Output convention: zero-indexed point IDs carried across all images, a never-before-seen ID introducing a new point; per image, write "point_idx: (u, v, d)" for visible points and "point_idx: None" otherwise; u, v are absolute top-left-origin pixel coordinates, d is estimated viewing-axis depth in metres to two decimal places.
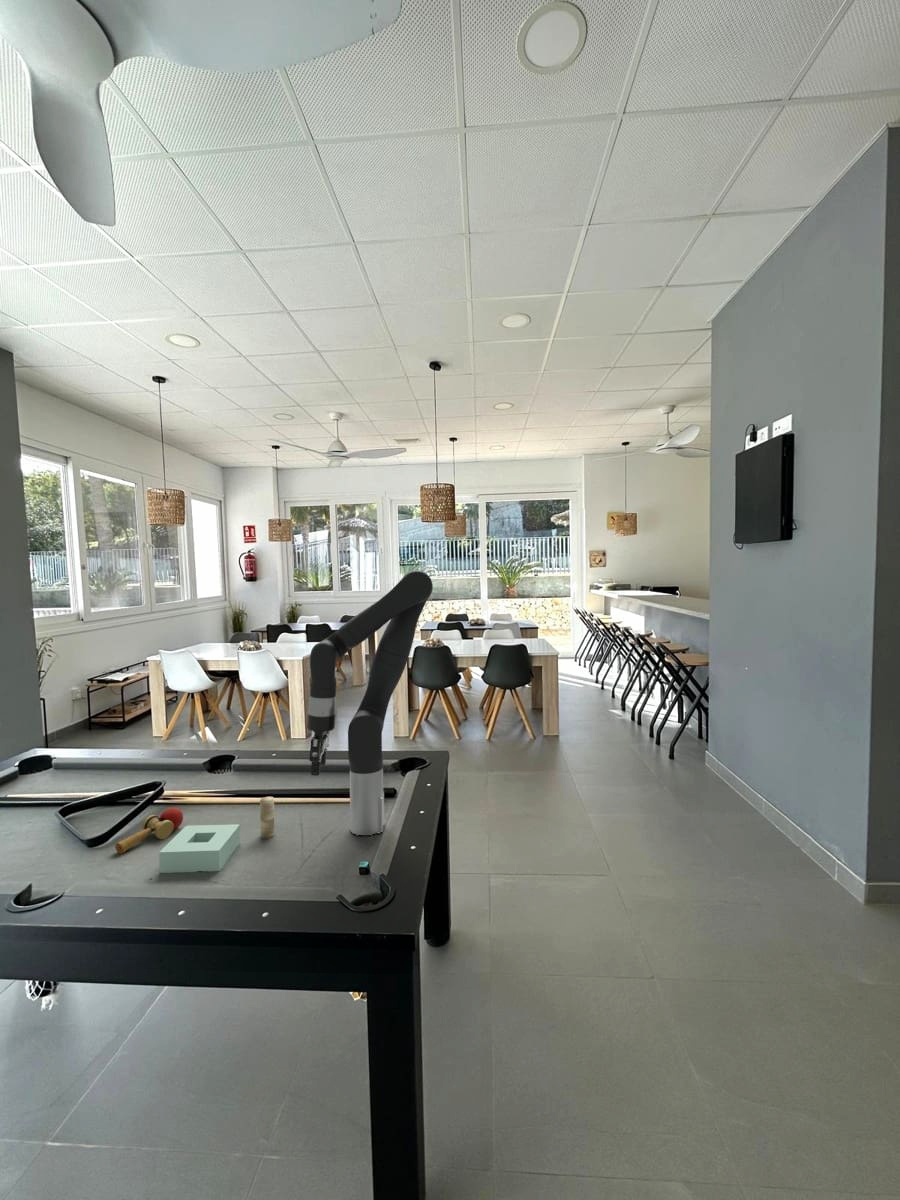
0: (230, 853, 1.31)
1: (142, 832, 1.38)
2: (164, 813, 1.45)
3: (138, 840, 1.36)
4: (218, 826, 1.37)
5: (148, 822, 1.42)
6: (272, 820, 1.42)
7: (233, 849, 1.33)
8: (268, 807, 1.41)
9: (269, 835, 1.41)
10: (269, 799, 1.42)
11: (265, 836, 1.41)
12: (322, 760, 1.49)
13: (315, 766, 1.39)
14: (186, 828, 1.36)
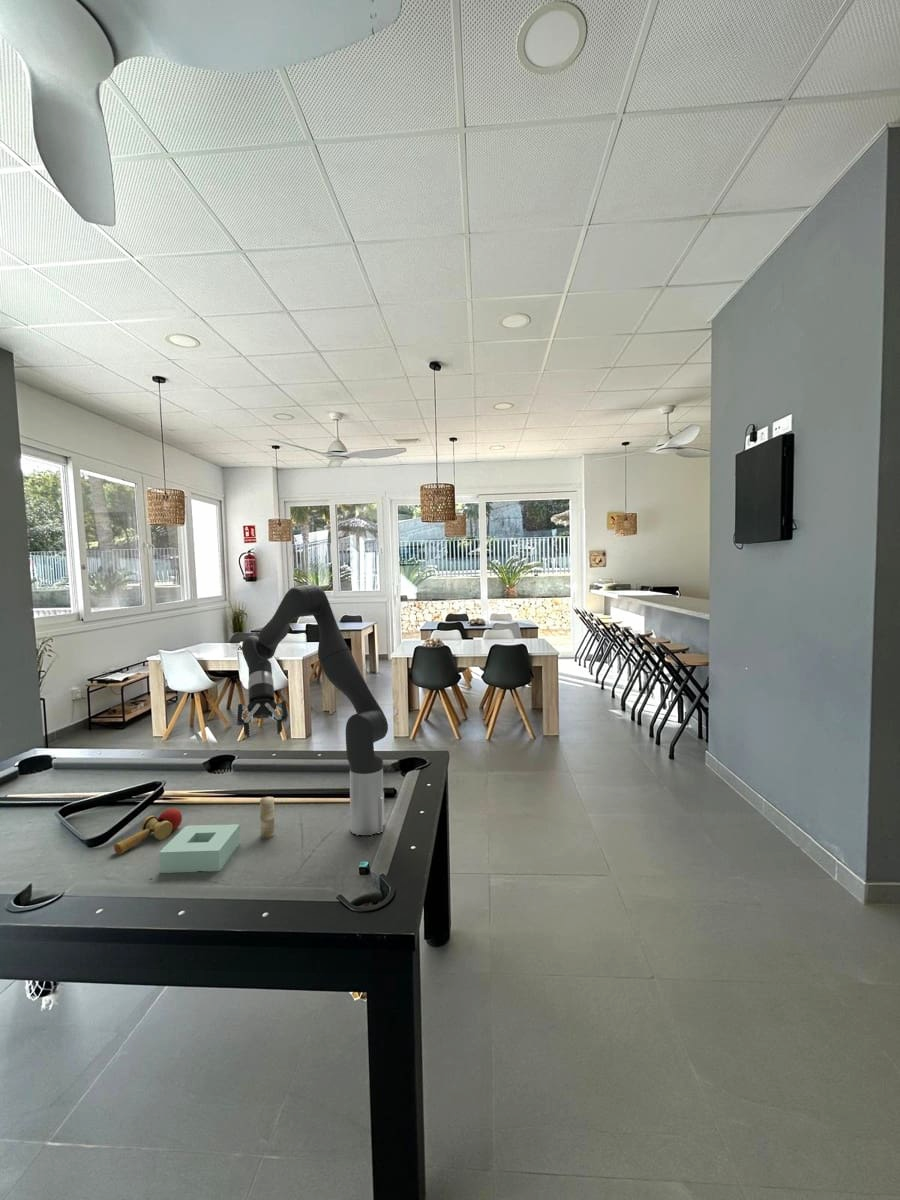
0: (230, 853, 1.31)
1: (141, 833, 1.38)
2: (163, 814, 1.45)
3: (137, 841, 1.36)
4: (218, 826, 1.37)
5: (147, 823, 1.42)
6: (272, 820, 1.42)
7: (233, 849, 1.33)
8: (268, 807, 1.41)
9: (269, 835, 1.41)
10: (269, 799, 1.42)
11: (265, 836, 1.41)
12: (277, 728, 1.55)
13: None
14: (186, 828, 1.36)
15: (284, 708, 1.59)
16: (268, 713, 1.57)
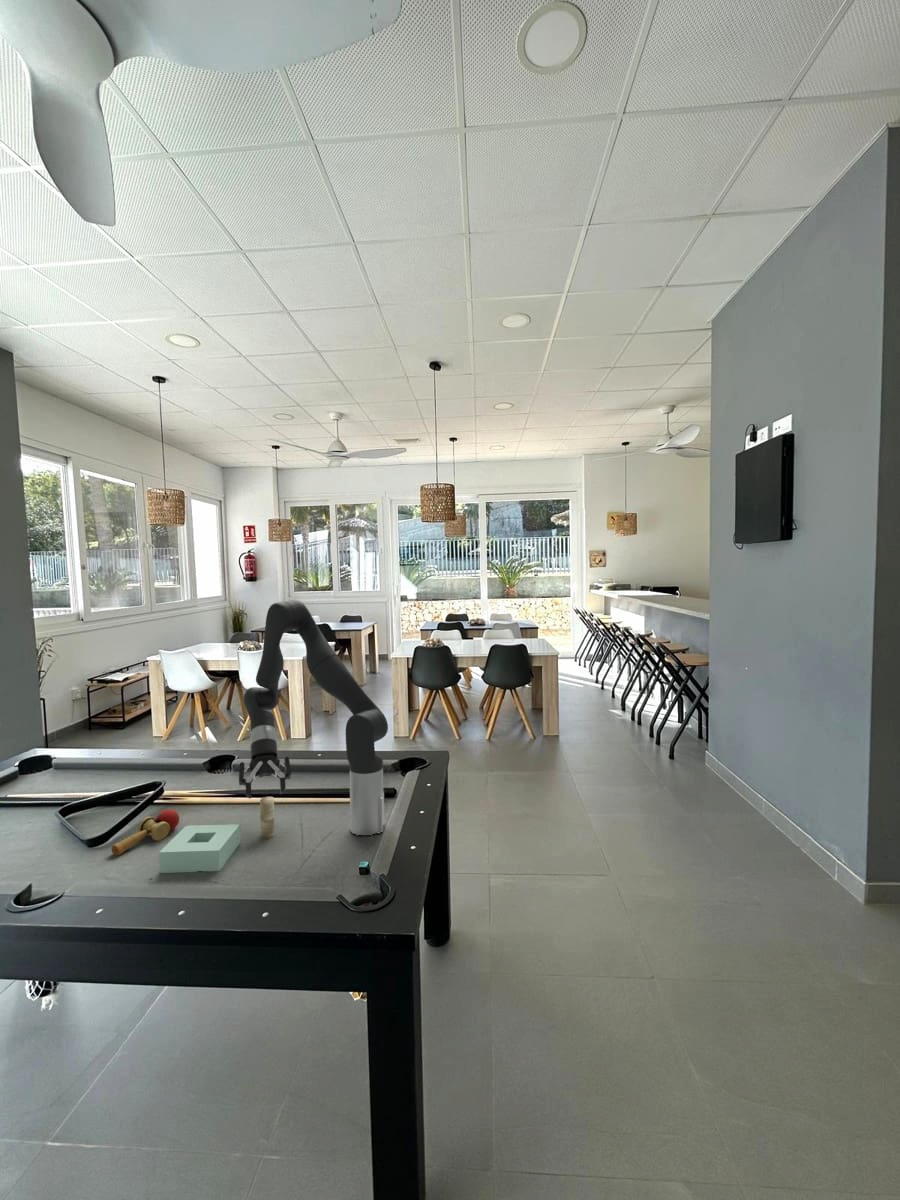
0: (230, 853, 1.31)
1: (138, 834, 1.37)
2: (160, 815, 1.44)
3: (134, 842, 1.36)
4: (218, 826, 1.37)
5: (144, 824, 1.41)
6: (272, 820, 1.42)
7: (233, 849, 1.33)
8: (268, 807, 1.41)
9: (269, 835, 1.41)
10: (269, 799, 1.42)
11: (265, 836, 1.41)
12: (280, 788, 1.49)
13: None
14: (186, 828, 1.36)
15: (287, 765, 1.53)
16: (271, 771, 1.51)
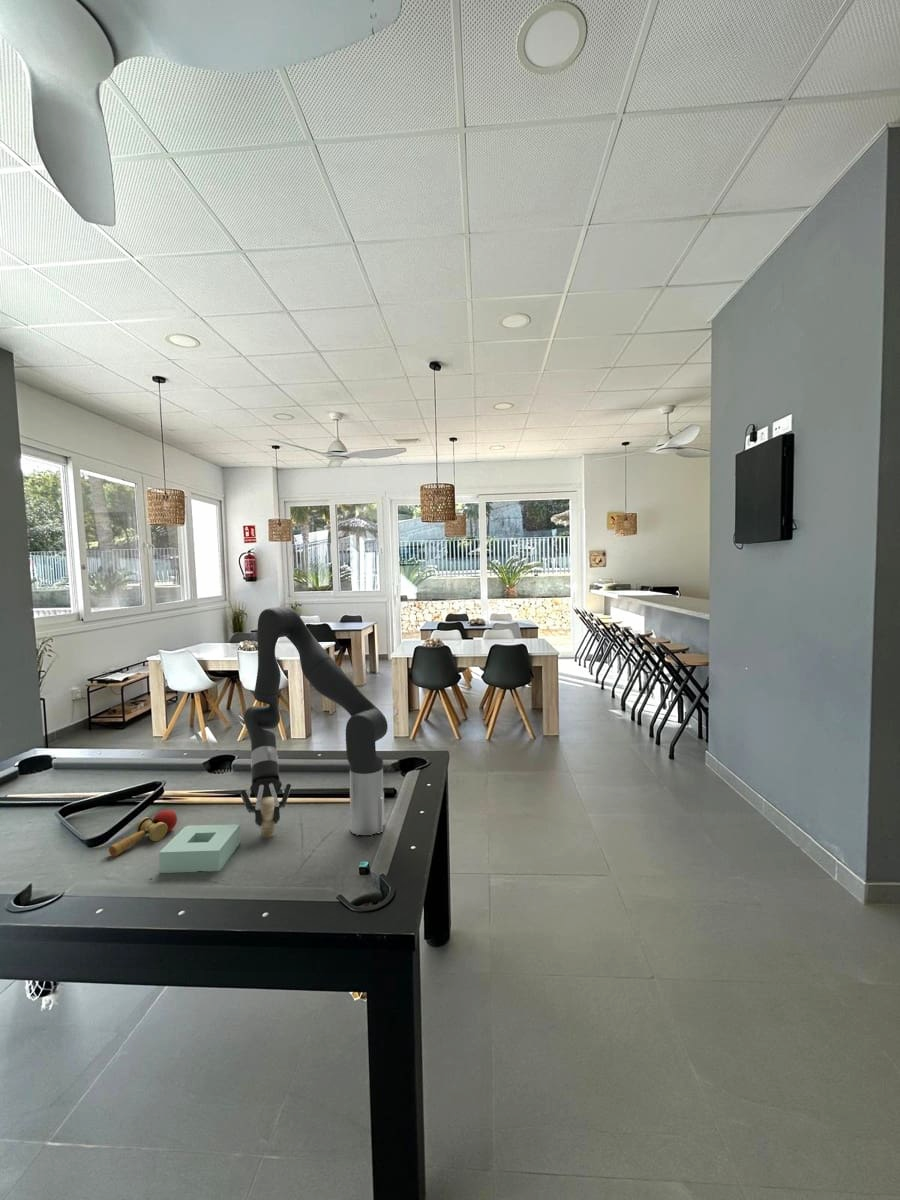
0: (230, 853, 1.31)
1: (136, 834, 1.37)
2: (158, 815, 1.44)
3: (132, 843, 1.35)
4: (218, 826, 1.37)
5: (142, 824, 1.41)
6: (272, 820, 1.42)
7: (233, 849, 1.33)
8: (268, 807, 1.41)
9: (269, 835, 1.41)
10: (269, 799, 1.42)
11: (265, 836, 1.41)
12: (274, 817, 1.42)
13: None
14: (186, 828, 1.36)
15: (286, 792, 1.47)
16: (268, 795, 1.45)
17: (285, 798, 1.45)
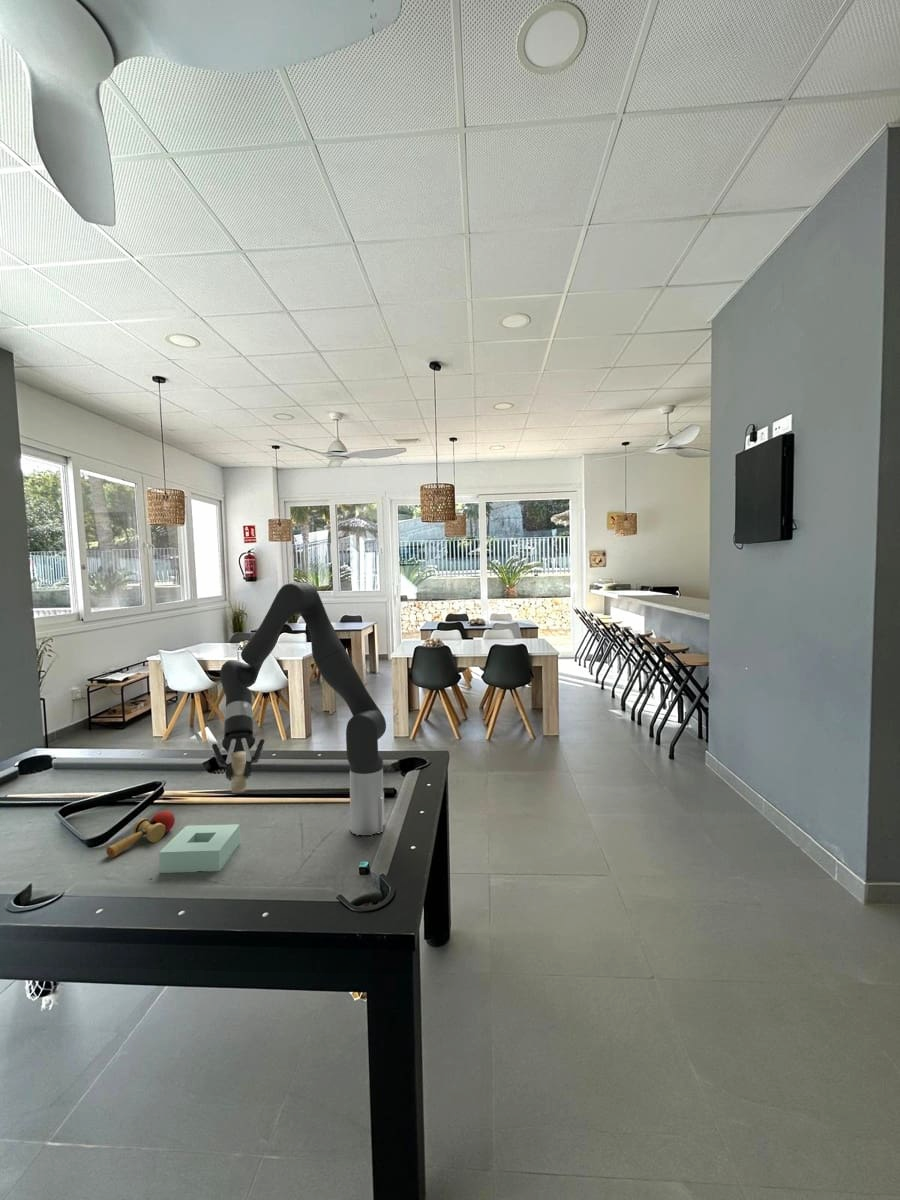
0: (230, 853, 1.31)
1: (133, 836, 1.36)
2: (155, 816, 1.43)
3: (129, 844, 1.35)
4: (218, 826, 1.37)
5: (139, 825, 1.40)
6: (243, 774, 1.37)
7: (233, 849, 1.33)
8: (239, 761, 1.36)
9: (240, 790, 1.36)
10: (241, 753, 1.38)
11: (236, 791, 1.36)
12: None
13: None
14: (186, 828, 1.36)
15: (259, 748, 1.42)
16: (241, 750, 1.40)
17: (258, 753, 1.41)
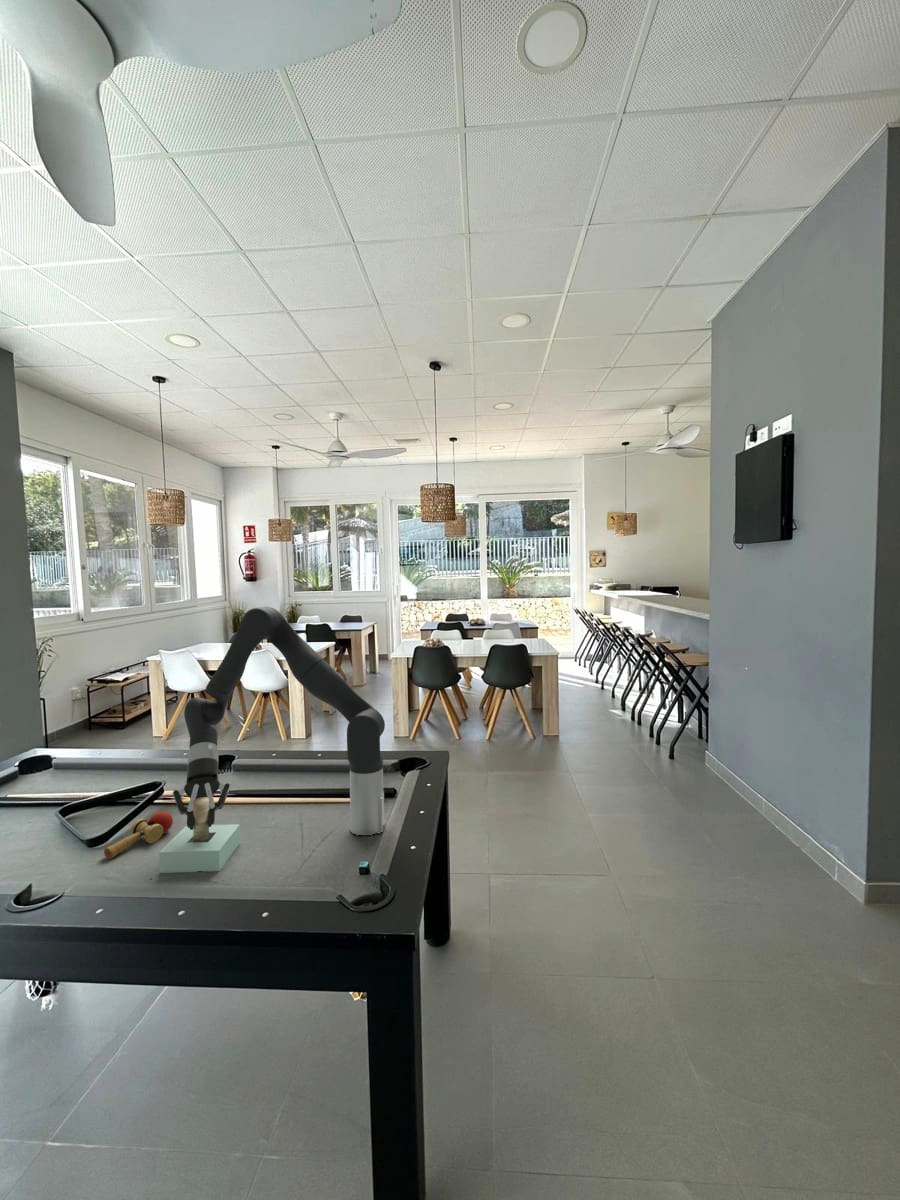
0: (230, 853, 1.31)
1: (131, 837, 1.36)
2: (153, 817, 1.43)
3: (127, 845, 1.34)
4: (218, 826, 1.37)
5: (137, 826, 1.40)
6: (206, 823, 1.30)
7: (233, 849, 1.33)
8: (201, 809, 1.29)
9: (202, 839, 1.29)
10: (203, 799, 1.31)
11: (198, 840, 1.29)
12: (208, 820, 1.30)
13: None
14: (186, 828, 1.36)
15: (223, 793, 1.35)
16: (204, 796, 1.33)
17: (222, 799, 1.34)
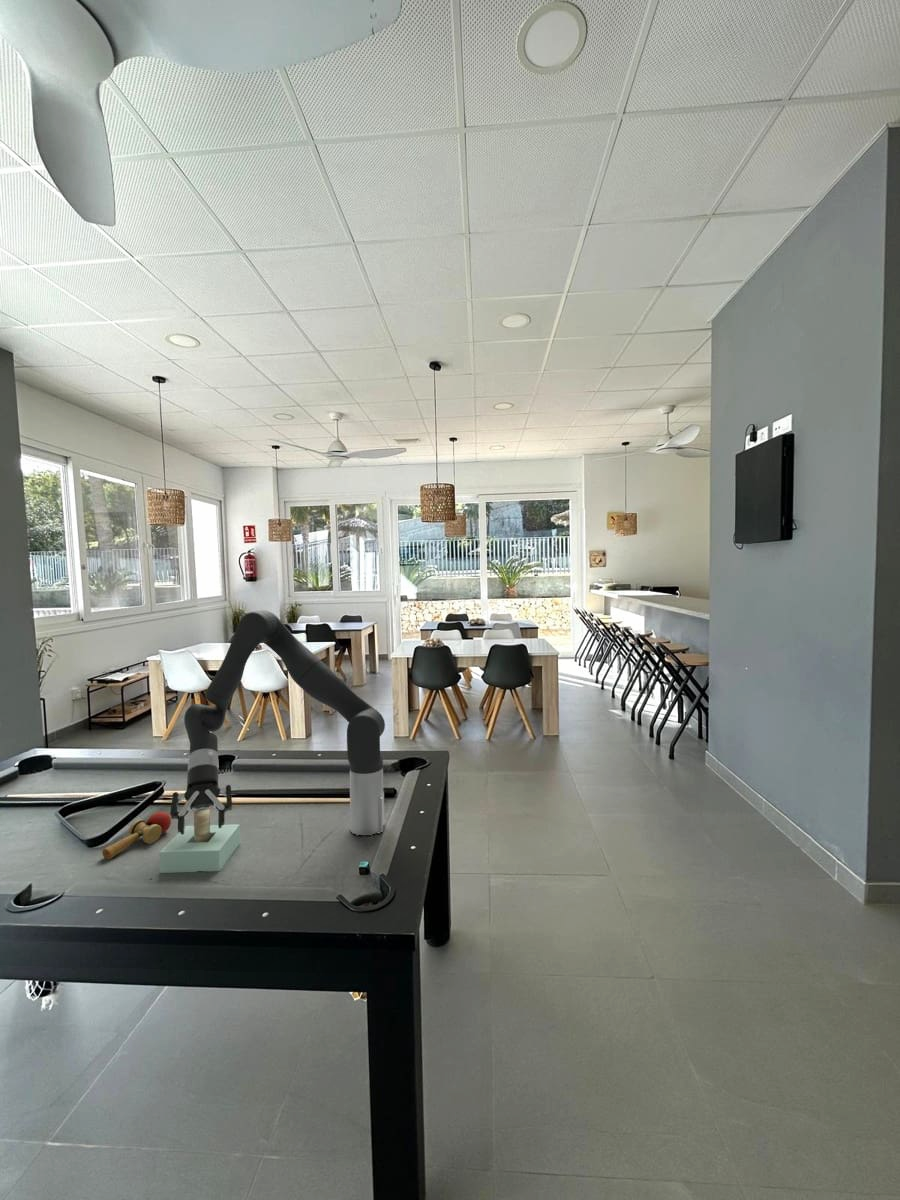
0: (230, 853, 1.31)
1: (129, 837, 1.35)
2: (151, 817, 1.42)
3: (126, 845, 1.34)
4: None
5: (135, 827, 1.39)
6: (207, 834, 1.30)
7: (233, 849, 1.33)
8: (202, 820, 1.29)
9: None
10: (204, 811, 1.31)
11: None
12: (218, 821, 1.32)
13: None
14: (186, 828, 1.36)
15: (228, 794, 1.36)
16: (209, 802, 1.34)
17: (230, 800, 1.35)
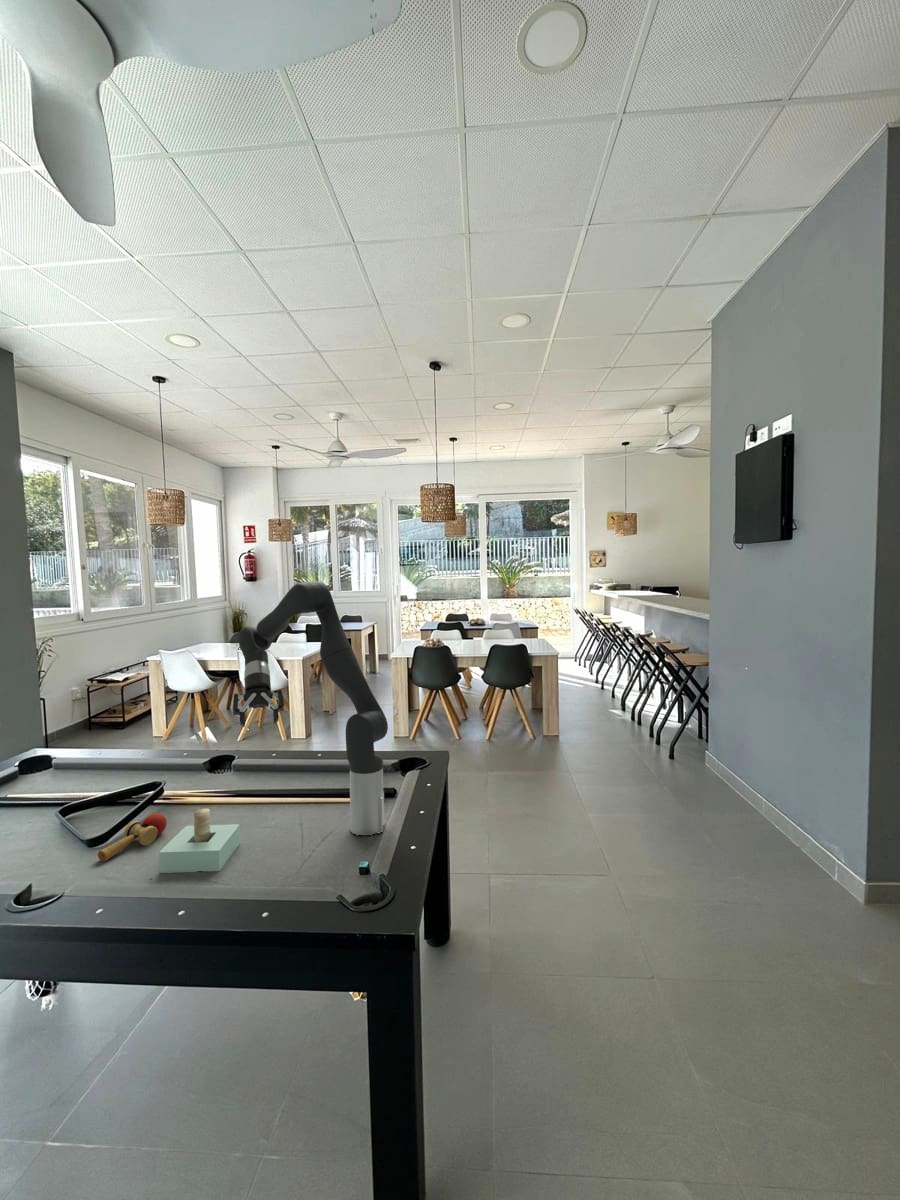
0: (230, 853, 1.31)
1: (125, 839, 1.34)
2: (147, 819, 1.41)
3: (121, 847, 1.33)
4: (218, 826, 1.37)
5: (131, 829, 1.38)
6: (207, 834, 1.30)
7: (233, 849, 1.33)
8: (202, 820, 1.29)
9: None
10: (204, 811, 1.31)
11: None
12: (273, 718, 1.53)
13: None
14: (186, 828, 1.36)
15: (280, 697, 1.57)
16: (264, 702, 1.55)
17: (282, 702, 1.56)
